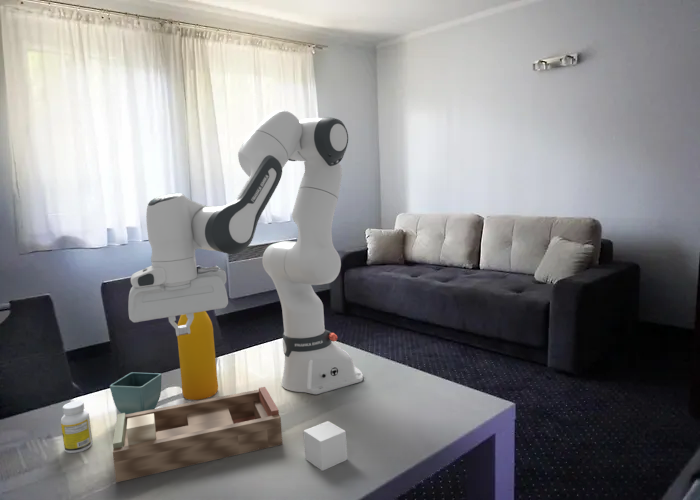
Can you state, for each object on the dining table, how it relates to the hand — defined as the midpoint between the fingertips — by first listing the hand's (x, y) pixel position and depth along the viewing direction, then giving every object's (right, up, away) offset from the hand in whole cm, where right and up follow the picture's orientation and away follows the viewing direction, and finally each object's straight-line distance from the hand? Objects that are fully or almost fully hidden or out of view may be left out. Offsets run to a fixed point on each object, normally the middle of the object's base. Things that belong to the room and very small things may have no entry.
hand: (183, 334), depth 110 cm
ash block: (-5, -21, -8) cm, 23 cm away
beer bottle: (-4, -21, +27) cm, 34 cm away
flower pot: (-16, -23, +16) cm, 32 cm away
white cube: (+31, -23, -9) cm, 40 cm away
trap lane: (+4, -23, 0) cm, 24 cm away
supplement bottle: (-23, -25, 0) cm, 34 cm away
